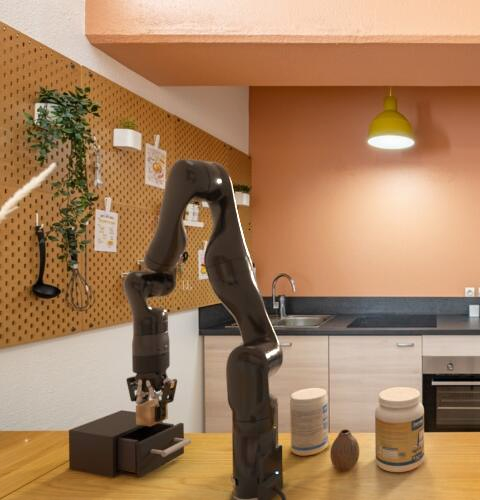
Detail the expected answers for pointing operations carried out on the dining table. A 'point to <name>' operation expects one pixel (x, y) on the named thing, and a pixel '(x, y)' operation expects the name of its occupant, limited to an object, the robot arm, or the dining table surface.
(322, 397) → the supplement tub
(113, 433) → the dark drawer cabinet
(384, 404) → the supplement tub
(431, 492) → the dining table surface
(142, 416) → the block
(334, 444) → the vase
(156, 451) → the drawer with bar handle
